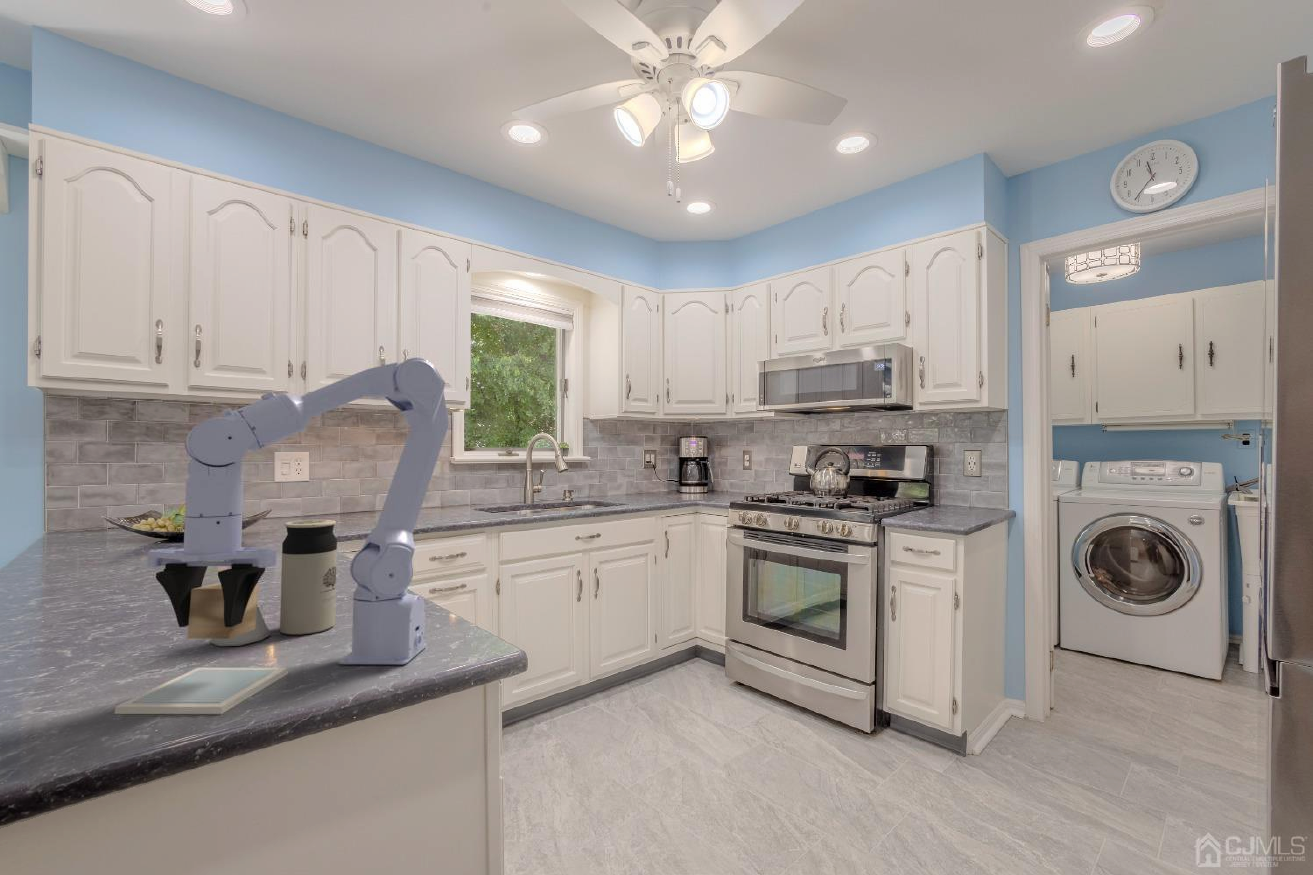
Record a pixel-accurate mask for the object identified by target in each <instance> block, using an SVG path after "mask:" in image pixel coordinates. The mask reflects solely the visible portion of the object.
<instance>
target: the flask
mask: <svg viewBox="0 0 1313 875" xmlns="http://www.w3.org/2000/svg"><path fill="white" fill-rule="evenodd" d="M270 635H271V633H270V630H269V628H268V626H267V624H266V622H265V620H264V617H263V616H262V613H261V610H260V608H259V605H258V604H257V611H256V624H255V629H254V630H251V631H249V632H246V633H243V634H240V635H238V636H235V637H232V638H229V639H211V641H210V644H213V645H215V646H219V647H231V646H232V647H234V646H235V647H236V646H238V647H239V646H243V645H244V646H245V645H247V644H252V643H255V642H259V641H260V642H261V641H262V640H264V639H265V638H267V637H269V636H270Z"/></svg>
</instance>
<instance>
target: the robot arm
mask: <svg viewBox="0 0 1313 875" xmlns="http://www.w3.org/2000/svg"><path fill="white" fill-rule="evenodd" d="M445 387H446V381H445V380H444V378H443V376H442V375H441V374H440V372H439V371H438V369H437V368H436V366H435V365H434V364H433V363H432V362H430V361H429V360H427V359H425V358H422V357H411V358H407V359H406V360H404V361H403V362H400V363H398V361H397V362H393V363H387V364H384V365H379V366H375V367H370V368H367V369H364V370H361V371H359V372H356V373H353V374H351V375H349V376H346V377H344V378H342V379H340V380H337V381H335V382H333V383H330V384H328V385H325V386H323V387H320V388H318V389H316V390H313V391H311V392H308V393H305V394H303V395H301V396H295V395H293V394H289V393H287V392H280V393H277V394H274V392H273V391H270V392H267V393H264V394H262V395H261V396H260V397H261V400H259V401H256V402H254V403H251V404H248V405H245V406H243V407H240V408H238V409H235V410H231V408H227V409H225V410H221V412H220V414H221V416H222V417H220V416H219V417H210V418H208V419H207V420H205V421H203V422H200V423H198V424H197V425H196V426H194V427H193V428H192V429H191V430H190V431H189V433H188V434H187V437H186V441H184V449H185V451H186V453H187V455H188V456H189V457H190V459H189V462H188V464H187V469H186V470H187V474H188V477H187V478H186V479H185V497H184V498H185V499H184V501H185V502H184V527H183V528H184V531H183V532H184V536H183V548H159V549H153V550H149V551H147V561H146V562H147V568H158V567H164V568H163V570H162V571H159V572H156V573H155V580H156V581H158V583H159V584H160V585H161V587H162V588H163V589H164V591H165V593H166V594H167V596H168V598H169V600H170V603H171V605H172V607H173V610H174V614H175V616H176V617H175V618H176V620H177V625H178V627H179V628H186V627H188V624H189V613H190V602H191V591H192V589H194V588H199V587H203V586H202V585H203V583H204V582H203V581H204V578H205V576H206V573H207V569H208V567H231V568H228V569H223V570H221V571H220V570H219V571H218V572H217V577H218V580H219V583H221V587H222V591H223V597H224V624H225V627H233V626H235V625H238V624H240V623H242V620H243V617H244V613H245V610H246V607H247V604H248V601H249V599H250V596H251V594H252V592H253V590H254V588H255V586H256V584H257V583H259V581H260V579H261V577H262V576H263V575H264V573H266V568H269V567H273V566H276V565H277V549H265V548H256V547H255V548H254V547H253V548H252V547H242V544H243V543H242V540H243V539H242V538H243V536H242V535H243V507H244V506H243V504H244V503H243V501H244V500H243V499H244V477H243V476H242V473H243V460H242V459H243V458H244V457H245V456H246V454H247V452H248V450H251V451H254V452H258V451H260V450H262V449H265V448H267V447H269V446H271V445H274V444H276V443H278V442H281V441H283V440H285V439H288V438H291V437H293V436H295V435H297V434H300V433H303V432H304V431H306V429H307V426H308V424H309V422H310V420H311V418H312V417H314V416H317V415H320V414H323V413H325V412H328V411H331V410H332V409H336V408H338V407H341V406H343V405H346V404H348V403H351V402H353V401H356V400H359V399H362V398H371V399H381V398H385V400H387V401H388V402H389V403H390V404H391V405H392V406H394V407H395V408H396V409H397V410H399V412H400V413H401V414H402V416H403V417H404V419H405V420H406V422H407V423H408V426H409V428H410V429H409V431H408V434H407V438H406V441H405V443H404V446H403V448H402V452H401V455H400V458H399V461H398V463H397V466H396V469H395V472H394V475H393V478H392V481H391V483H390V486H389V489H388V491H387V493H386V494H387V495H386V498H385V501H384V502H383V505H382V508H381V511H380V514H379V516H378V517H379V518H378V521H377V523H376V525H375V527H374V528H373V529H372V530H371V532H369V534H368V535H367V536H366V539H365V542H364V544H363V545H362V547H361V549H359V551H358V552H356V553H355V555H354V556H353V558H352V559H351V561H350V566H349V572H350V576H351V578H352V580H353V581H354V582H355V583H356V584H357V585H356V589H355V590H354V592H353V594H352V596H353V597H352V631H351V632H352V635H351V636H352V638H351V652H349V653H348V654H346V655H345V656H344V657H342V658H340V659H339V660H338V665H406V664H407V663H409V662H410V661H411V660H412V659H414V657H416V656H417V655H418V654H419V653H420V652H421V651H423V650H424V649H425V648H426V647H427V643H426V638H425V637H426V634H425V633H426V604H425V599H424V597H423V596H421V595H418V594H412V593H408V587H409V586H410V585H411V582H412V581H413V577H414V566H413V557H414V554H415V550H416V547H415V543H414V542H415V541H414V530H415V527H416V524H417V521H418V519H419V515H420V512H421V509H422V507H423V503H424V501H425V498H426V495H427V492H428V489H429V487H430V486H429V485H430V483H431V480H432V476H433V473H434V470H435V468H436V464H437V461H438V459H439V456H440V453H441V449H442V447H443V443H444V440H445V437H446V435H447V432H448V429H449V424H450V420H449V415H448V410H447V404H446V398H445Z"/></svg>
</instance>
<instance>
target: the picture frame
mask: <svg viewBox="0 0 1313 875" xmlns="http://www.w3.org/2000/svg"><path fill="white" fill-rule="evenodd" d="M287 675H289V668H288V667H196V668H194V669H192V670H190V671H187V672H186V673H184V674H182V675H179V676H177V677H175V678H172V679H170V680H169V681H166V682H165V683H162V684H160V685H158V686H156V687H154V688H152V689H150V690H148V691H145V692H143V693H141V694H139V695H137V696H134V697H133V698H131V699H128V700H127V701H125V702H122V703H120V704H117V705H116V706H114V715H223V714H224V713H226V712H227V711H229V710H231V709H232V708H234V707H236V706H238V705H239V704H241V703H242V702H244V701H246V700H248V699H249V698H251V697H252V696H254V695H256V694H257V693H259V692H260V691H262V690H264V689H266V688H267V687H269V686H271V685H272V684H273V683H275V682H277V681H278V680H280V679H282V678H283V677H285V676H287Z"/></svg>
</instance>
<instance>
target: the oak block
mask: <svg viewBox="0 0 1313 875" xmlns="http://www.w3.org/2000/svg"><path fill="white" fill-rule="evenodd" d="M259 585H260V584H259V582H257V584H256V586H255V588H254V590H253V592H252V594H251V596H250V599H249V601H248V604H247V607H246V610H245V613H244V617H243V620H242V623H240V624H238V625H235V626H233V627H225V624H224V597H223V591H222V587H221V583H220V582H217V583H213V584H208V585H204V586H202V587H199V588H194V589H192V591H191V602H190V613H189V624H188V626H187V627H188V628H187V636H186V637H187V639H188V640H189V639H193V640H194V639H199V640H200V639H206V640H207V639H211V640H212V639H229V638H232V637H235V636H238V635H240V634H243V633H246V632H249V631H251V630H254V629H255V624H256V611H257V605H258V597H259Z"/></svg>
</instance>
